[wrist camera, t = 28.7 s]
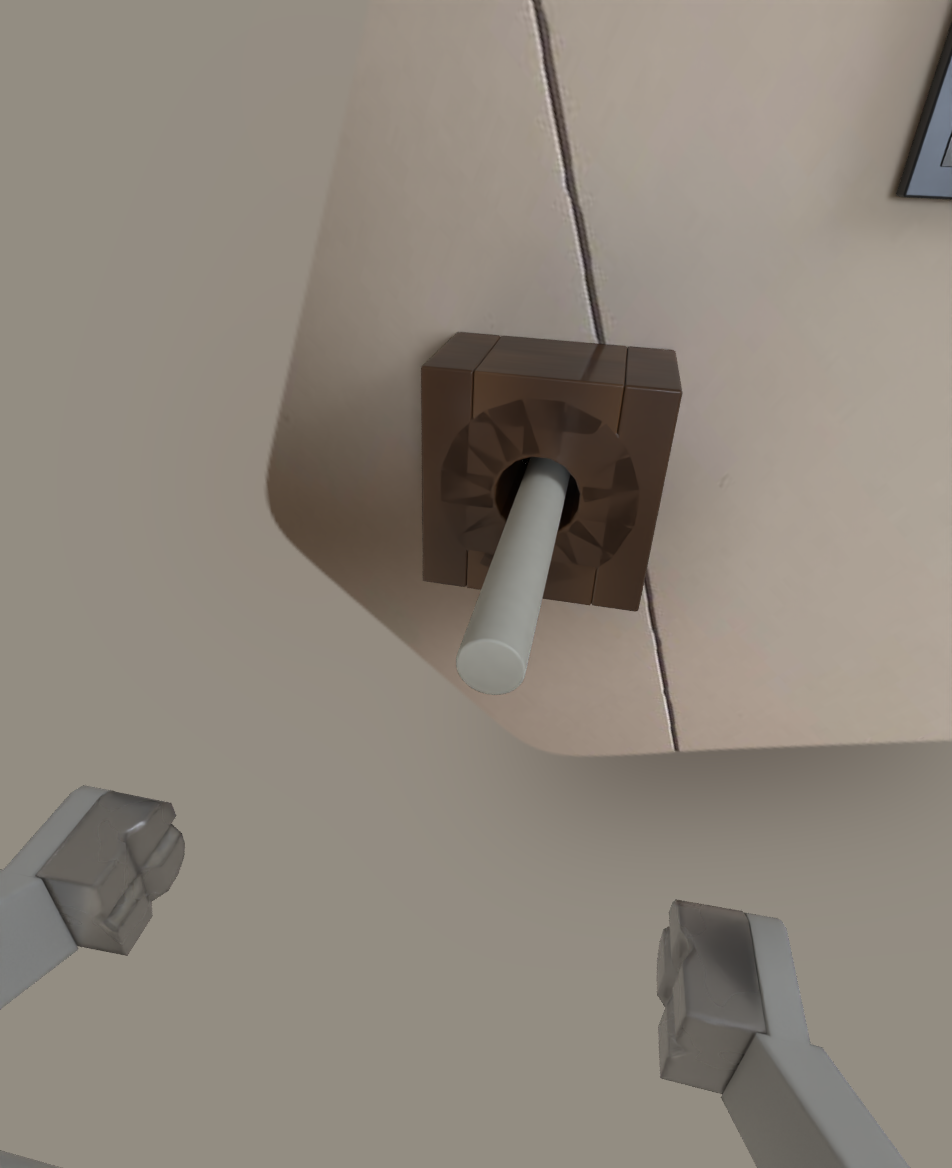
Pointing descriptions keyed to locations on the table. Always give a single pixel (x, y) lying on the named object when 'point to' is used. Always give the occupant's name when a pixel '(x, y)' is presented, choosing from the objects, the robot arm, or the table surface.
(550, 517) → the stylus
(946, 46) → the tablet
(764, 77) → the table surface
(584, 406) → the pen block
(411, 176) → the table surface
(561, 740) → the table surface
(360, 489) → the table surface
